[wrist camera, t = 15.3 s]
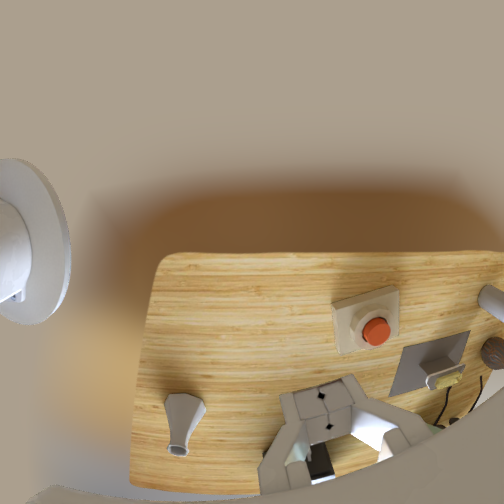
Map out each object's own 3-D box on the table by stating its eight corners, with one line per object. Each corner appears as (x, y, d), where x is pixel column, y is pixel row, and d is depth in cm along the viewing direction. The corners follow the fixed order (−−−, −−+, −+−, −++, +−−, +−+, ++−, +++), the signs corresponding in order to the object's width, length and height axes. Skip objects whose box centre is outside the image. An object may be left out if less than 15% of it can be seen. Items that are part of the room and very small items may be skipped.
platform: (453, 376, 45) (469, 393, 39) (388, 397, 44) (402, 419, 38) (470, 330, 42) (489, 345, 36) (403, 347, 41) (422, 368, 35)
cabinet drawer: (259, 441, 44) (263, 473, 36) (319, 428, 44) (329, 458, 36) (275, 479, 49) (279, 505, 41) (324, 468, 48) (332, 493, 41)
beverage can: (491, 298, 41) (529, 322, 29) (476, 310, 41) (515, 337, 30) (490, 279, 40) (532, 301, 28) (476, 291, 40) (518, 316, 28)
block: (335, 348, 40) (344, 363, 36) (330, 303, 38) (339, 316, 34) (392, 329, 40) (404, 341, 36) (392, 284, 38) (405, 294, 34)
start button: (363, 343, 36) (367, 349, 34) (362, 322, 35) (367, 328, 33) (385, 335, 36) (390, 341, 34) (385, 314, 35) (391, 319, 33)
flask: (207, 395, 41) (203, 441, 32) (205, 422, 43) (201, 465, 33) (164, 388, 41) (151, 432, 31) (164, 415, 42) (154, 457, 33)
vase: (473, 357, 44) (495, 377, 36) (488, 330, 43) (512, 348, 35) (485, 359, 45) (505, 378, 37) (499, 334, 44) (521, 351, 35)
